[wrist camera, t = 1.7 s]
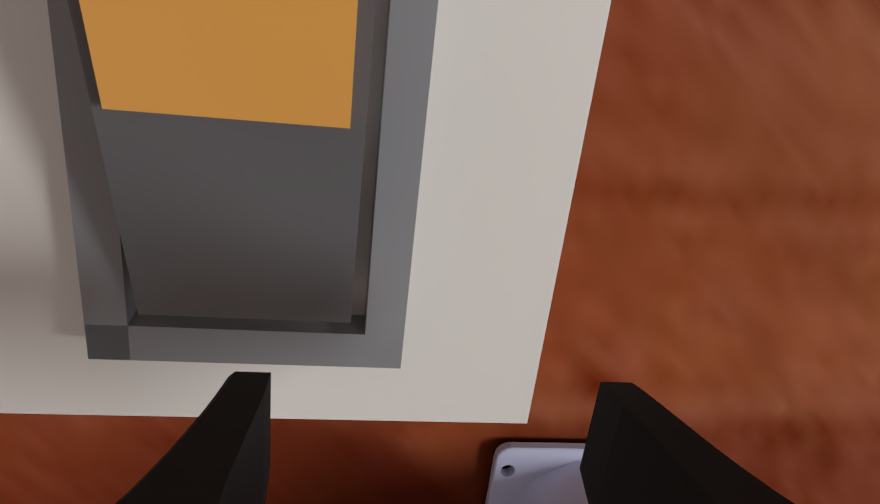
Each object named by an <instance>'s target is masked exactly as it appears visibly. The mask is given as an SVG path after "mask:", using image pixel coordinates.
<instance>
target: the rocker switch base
mask: <svg viewBox="0 0 880 504" xmlns="http://www.w3.org/2000/svg"><path fill="white" fill-rule="evenodd" d="M610 4H611V0H376V4H375V17H374V29H373V42H372V55H371V68H370V81H369V94H368V106H367V119H366V132H365V145H364V158H363V171H362V183H361V196H360V209H359V222H358V235H357V248H356V260H355V273H354V286H353V299H352V312H351V323H344V322H319V321H294V320H268V319H243V318H218V317H192V316H167V315H142V314H138V312H137V307H136V303H135V299H134V294H133V290H132V285H131V281H130V276H129V272H128V268H127V263H126V259H125V254H124V250H123V245H122V241H121V237H120V232H119V228H118V223H117V219H116V214H115V210H114V206H113V201H112V197H111V192H110V188H109V183H108V179H107V175H106V170H105V166H104V161H103V157H102V152H101V148H100V144H99V139H98V135H97V130H96V126H95V121H94V117H93V113H92V108H91V104H90V99H89V95H88V90H87V86H86V82H85V77H84V73H83V68H82V64H81V59H80V55H79V51H78V46H77V42H76V37H75V33H74V28H73V24H72V20H71V15H70V11H69V6H68V2H67V0H0V413H23V414H74V415H126V416H177V417H199V415H200V414H201V413H202V412H203V410H204V409H205V408H206V407H207V405H208V404H209V403H210V401H211V400H212V399H213V397H214V396H215V395H216V393H217V392H218V391H219V389H220V388H221V387H222V385H223V384H224V382H225V381H226V379H227V378H228V377H229V376H230V375H231V374H232V373H234V372H235V371H239V372H271V412H270V418H280V419H332V420H383V421H435V422H486V423H527V421H528V416H529V411H530V406H531V401H532V396H533V391H534V386H535V381H536V376H537V371H538V366H539V361H540V356H541V351H542V346H543V341H544V336H545V331H546V326H547V321H548V316H549V311H550V306H551V301H552V296H553V290H554V285H555V280H556V275H557V270H558V265H559V260H560V255H561V250H562V245H563V240H564V235H565V230H566V225H567V220H568V215H569V210H570V205H571V200H572V195H573V190H574V185H575V180H576V175H577V170H578V165H579V160H580V155H581V150H582V145H583V140H584V135H585V130H586V125H587V120H588V115H589V110H590V105H591V100H592V95H593V90H594V84H595V79H596V74H597V69H598V64H599V59H600V54H601V49H602V44H603V39H604V34H605V29H606V24H607V19H608V14H609V9H610Z"/></svg>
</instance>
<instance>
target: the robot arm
mask: <svg viewBox="0 0 880 504" xmlns="http://www.w3.org/2000/svg"><path fill="white" fill-rule="evenodd" d="M270 412H271V372H239V371H235V372H234V373H232V374H231V375H230V376H229V377H228V378H227V379H226V381H225V382H224V384H223V385H222V387H221V388H220V389H219V391H218V392H217V393H216V395H215V396H214V397H213V399H212V400H211V401H210V403H209V404H208V405H207V407H206V408H205V409H204V410H203V412H202V413H201V414H200V415H199V417H198V418H197V419H196V420H195V421H194V423H193V424H192V425H191V426H190V427H189V428H188V430H187V431H186V432H185V433H184V434H183V435H182V436H181V438H180V439H179V440H178V441H177V442H176V443H175V445H174V446H173V447H172V448H171V449H170V450H169V451H168V452H167V453H166V454H165V455H164V456H163V457H162V459H161V460H160V461H159V462H158V463H157V464H156V465H155V466H154V467H153V468H152V469H151V470H150V471H149V472H148V473H147V474H146V475H145V476H144V477H143V478H142V479H141V480H140V481H139V482H138V483H137V484H136V485H135V486H134V487H133V488H132V489H131V490H130V491H129V492H128V493H127V494H125V495H124V496H123V497H122V498H121V499H120V500H119V501H118V502H117V503H116V504H265V500H266V492H267V484H268V476H269V468H270ZM506 465H511V467H509V468H506V469H503V468H502V467H504V466H506ZM485 504H794V503H792V502H791V501H789V500H788V499H786V498H785V497H783V496H782V495H780V494H779V493H777V492H776V491H774V490H773V489H771V488H770V487H769V486H767V485H766V484H764V483H763V482H762V481H760V480H759V479H757V478H756V477H754V476H753V475H752V474H750V473H749V472H747V471H746V470H745V469H743V468H742V467H740V466H739V465H738V464H736V463H735V462H734V461H732V460H731V459H730V458H728V457H727V456H726V455H724V454H723V453H722V452H720V451H719V450H718V449H716V448H715V447H714V446H713V445H711V444H710V443H709V442H707V441H706V440H705V439H704V438H702V437H701V436H700V435H699V434H697V433H696V432H695V431H694V430H692V429H691V428H690V427H689V426H687V425H686V424H685V423H684V422H682V421H681V420H680V419H679V418H677V417H676V416H675V415H674V414H672V413H671V412H670V411H669V410H667V409H666V408H665V407H664V406H662V405H661V404H660V403H659V402H657V401H656V400H655V399H653V398H652V397H651V396H650V395H648V394H647V393H646V392H644V391H643V390H642V389H640V388H639V387H637V386H636V385H635V384H633V383H622V382H601V383H600V387H599V391H598V395H597V399H596V403H595V407H594V411H593V415H592V419H591V423H590V428H589V432H588V436H587V440H586V443H540V442H507V443H503V444H501V445H499V446H498V447H497V448H496V450H495V452H494V457H493V463H492V469H491V474H490V480H489V485H488V491H487V496H486V502H485Z"/></svg>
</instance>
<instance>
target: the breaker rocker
mask: <svg viewBox="0 0 880 504" xmlns="http://www.w3.org/2000/svg"><path fill="white" fill-rule="evenodd" d="M67 2H68V6H69V11H70V15H71V20H72V24H73V28H74V33H75V37H76V42H77V46H78V51H79V55H80V59H81V64H82V68H83V73H84V77H85V82H86V86H87V90H88V95H89V99H90V104H91V108H92V113H93V117H94V121H95V126H96V130H97V135H98V139H99V144H100V148H101V152H102V157H103V161H104V166H105V170H106V175H107V179H108V183H109V188H110V192H111V197H112V201H113V206H114V210H115V214H116V219H117V223H118V228H119V232H120V237H121V241H122V245H123V250H124V254H125V259H126V263H127V268H128V272H129V276H130V281H131V285H132V290H133V294H134V299H135V303H136V307H137V312H138V314H142V315H167V316H192V317H218V318H243V319H268V320H294V321H319V322H344V323H351V312H352V299H353V286H354V273H355V260H356V248H357V235H358V222H359V209H360V196H361V183H362V171H363V158H364V145H365V132H366V119H367V106H368V94H369V81H370V68H371V55H372V42H373V29H374V17H375V4H376V0H67Z"/></svg>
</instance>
